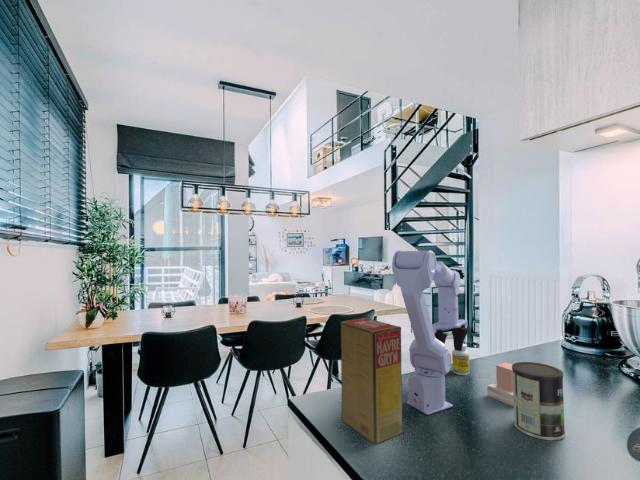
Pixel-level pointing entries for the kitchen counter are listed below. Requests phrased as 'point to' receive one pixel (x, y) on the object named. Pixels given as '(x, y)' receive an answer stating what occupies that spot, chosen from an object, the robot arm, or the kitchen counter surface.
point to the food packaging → (371, 378)
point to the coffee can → (538, 400)
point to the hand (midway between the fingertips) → (449, 352)
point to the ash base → (500, 394)
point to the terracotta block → (505, 376)
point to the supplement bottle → (461, 361)
